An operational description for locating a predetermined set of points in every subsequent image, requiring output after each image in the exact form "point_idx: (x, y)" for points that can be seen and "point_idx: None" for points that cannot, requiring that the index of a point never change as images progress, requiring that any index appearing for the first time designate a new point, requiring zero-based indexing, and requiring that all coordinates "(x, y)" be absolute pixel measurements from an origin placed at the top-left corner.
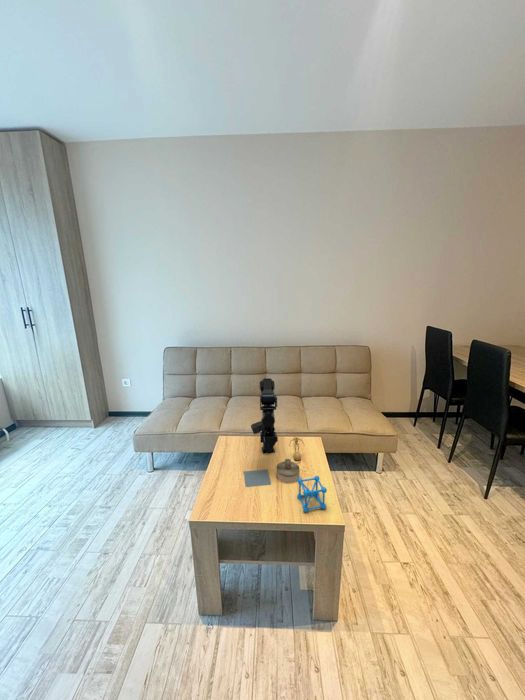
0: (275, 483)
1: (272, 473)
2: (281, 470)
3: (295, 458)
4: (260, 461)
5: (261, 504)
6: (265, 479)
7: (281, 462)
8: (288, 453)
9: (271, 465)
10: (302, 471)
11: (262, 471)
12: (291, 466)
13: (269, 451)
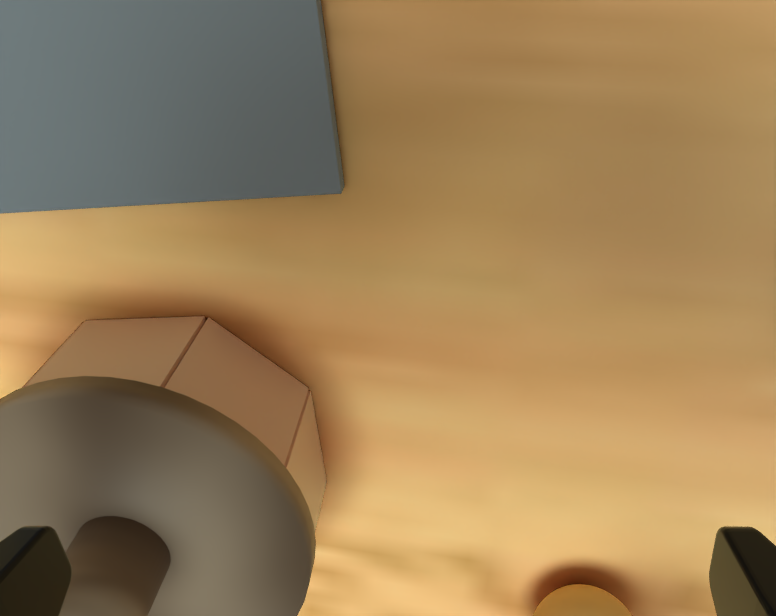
0: (19, 272)
1: (257, 256)
2: (34, 460)
3: (541, 610)
4: (657, 67)
5: None
6: (47, 135)
7: (273, 493)
8: (768, 534)
9: (482, 263)
10: (308, 594)
11: (269, 94)
12: (168, 595)
13: (28, 533)
